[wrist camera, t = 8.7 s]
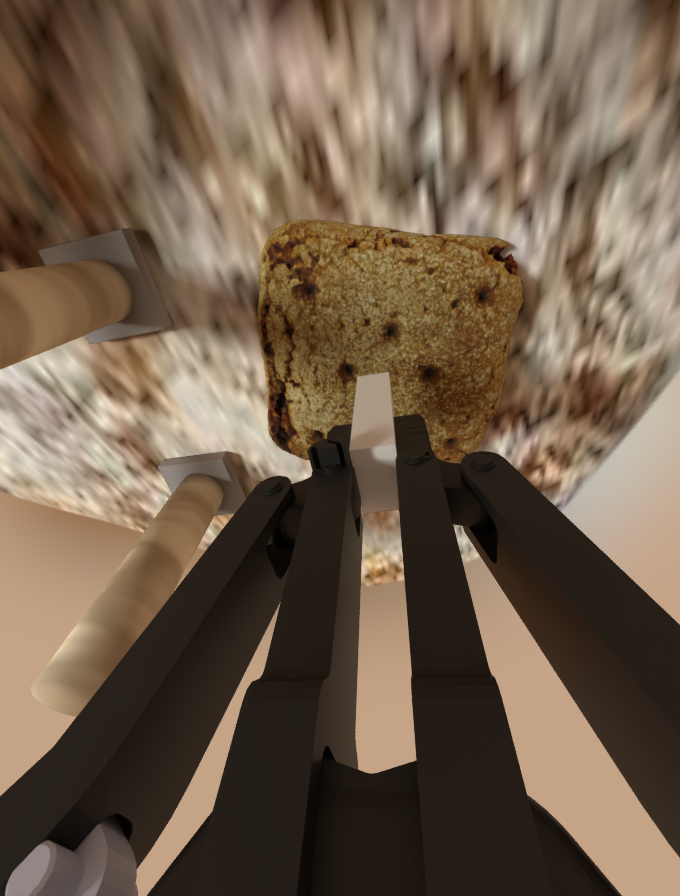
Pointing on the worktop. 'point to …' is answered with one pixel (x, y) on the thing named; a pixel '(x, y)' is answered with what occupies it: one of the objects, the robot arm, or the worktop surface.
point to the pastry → (384, 329)
